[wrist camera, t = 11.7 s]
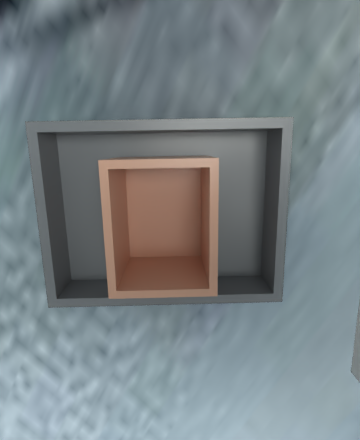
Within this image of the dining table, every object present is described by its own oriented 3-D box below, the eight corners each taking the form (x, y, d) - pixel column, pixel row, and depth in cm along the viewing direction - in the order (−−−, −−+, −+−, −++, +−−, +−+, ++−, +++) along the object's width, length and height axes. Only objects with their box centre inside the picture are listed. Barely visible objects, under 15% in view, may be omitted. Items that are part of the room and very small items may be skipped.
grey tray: (265, 278, 32) (282, 301, 27) (67, 283, 32) (48, 307, 27) (273, 122, 29) (293, 117, 24) (50, 126, 28) (25, 121, 24)
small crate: (206, 258, 30) (217, 296, 23) (125, 260, 30) (108, 298, 23) (206, 155, 28) (218, 157, 20) (119, 157, 28) (98, 160, 20)
